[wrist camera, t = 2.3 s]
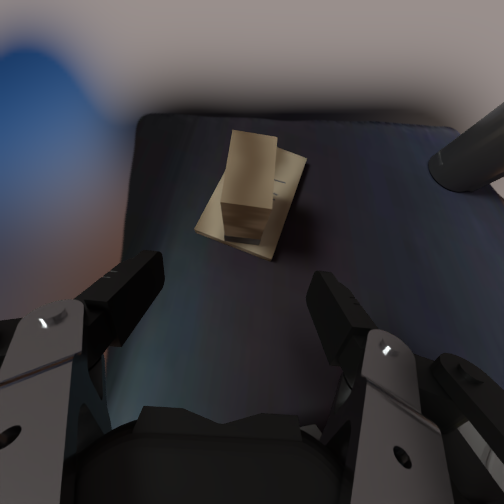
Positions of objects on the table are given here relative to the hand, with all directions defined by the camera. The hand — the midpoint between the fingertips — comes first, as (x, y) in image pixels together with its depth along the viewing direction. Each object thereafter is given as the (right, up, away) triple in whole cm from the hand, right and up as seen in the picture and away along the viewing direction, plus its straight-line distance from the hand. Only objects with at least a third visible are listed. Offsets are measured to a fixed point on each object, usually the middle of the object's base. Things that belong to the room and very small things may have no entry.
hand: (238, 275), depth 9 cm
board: (+1, +11, +20) cm, 23 cm away
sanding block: (0, +7, +18) cm, 19 cm away
